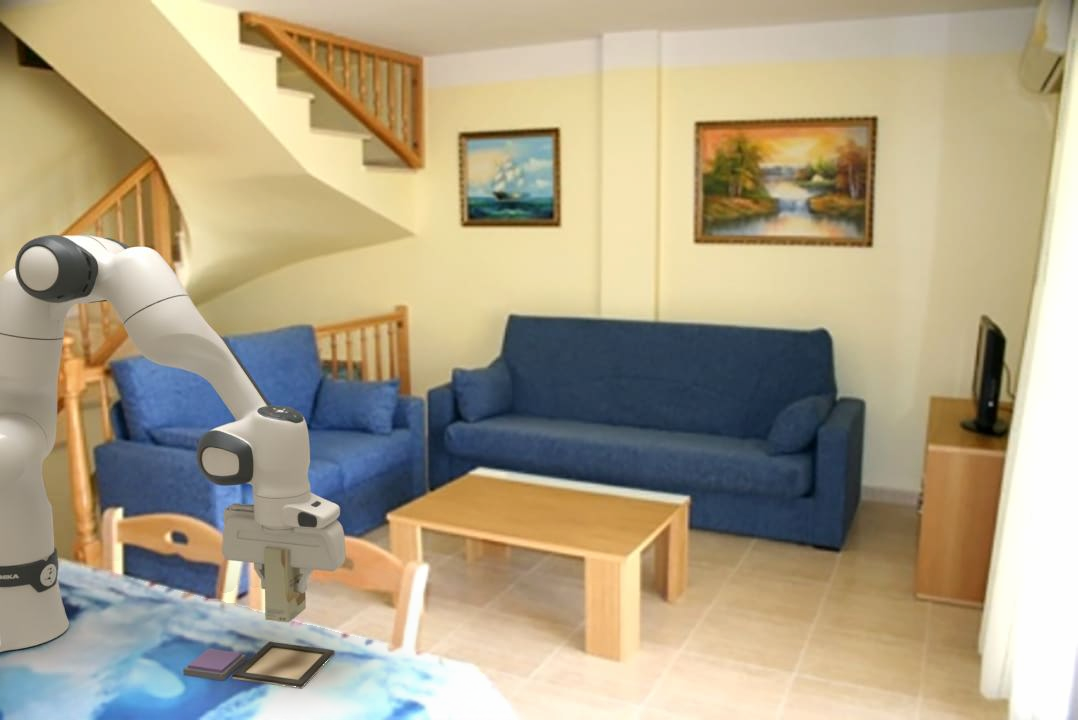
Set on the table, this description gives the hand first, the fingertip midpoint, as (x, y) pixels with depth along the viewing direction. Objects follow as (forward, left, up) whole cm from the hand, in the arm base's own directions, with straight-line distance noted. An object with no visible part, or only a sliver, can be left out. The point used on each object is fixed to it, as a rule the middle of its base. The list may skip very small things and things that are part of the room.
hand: (284, 589), depth 152 cm
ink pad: (-11, -4, -13) cm, 17 cm away
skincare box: (0, 0, -5) cm, 5 cm away
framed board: (0, 0, -13) cm, 13 cm away
